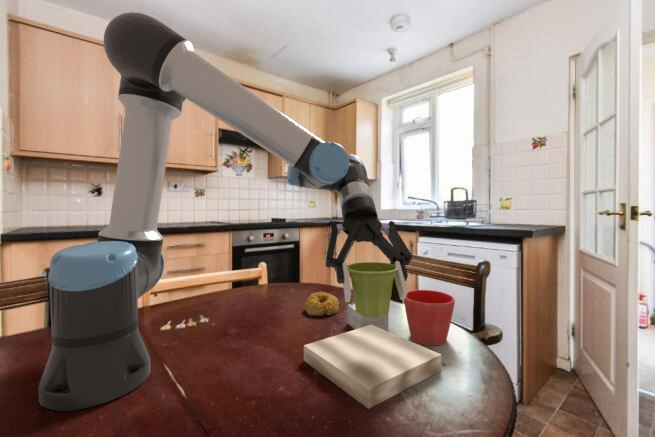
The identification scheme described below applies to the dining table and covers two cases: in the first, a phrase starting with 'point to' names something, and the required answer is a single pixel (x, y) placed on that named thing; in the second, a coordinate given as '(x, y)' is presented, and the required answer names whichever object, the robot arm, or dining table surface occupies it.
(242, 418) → the dining table surface
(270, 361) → the dining table surface
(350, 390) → the plinth
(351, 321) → the small box
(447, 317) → the flower pot
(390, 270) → the plant pot
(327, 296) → the bagel
